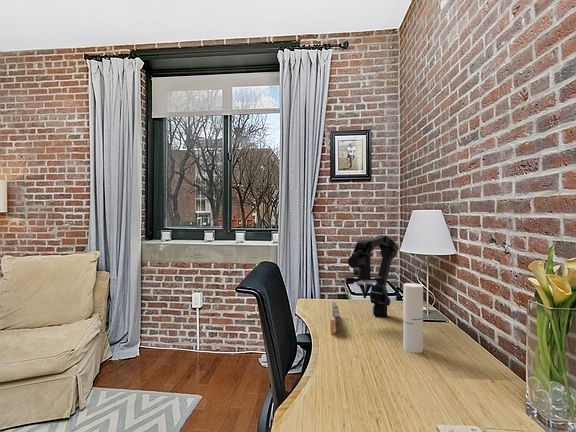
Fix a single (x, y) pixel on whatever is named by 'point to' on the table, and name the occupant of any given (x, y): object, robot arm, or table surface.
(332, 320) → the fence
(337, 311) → the gate
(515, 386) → the table surface
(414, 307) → the cylindrical container
